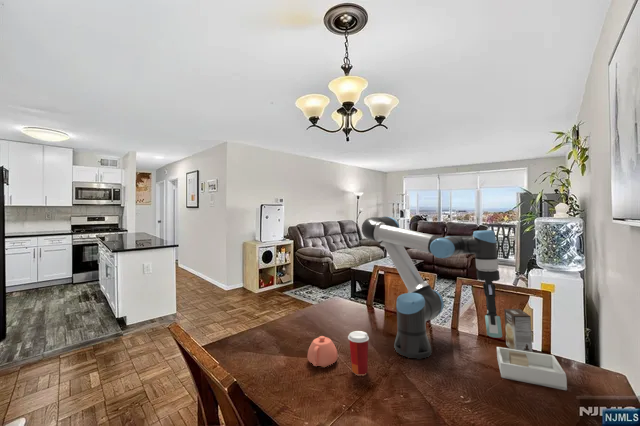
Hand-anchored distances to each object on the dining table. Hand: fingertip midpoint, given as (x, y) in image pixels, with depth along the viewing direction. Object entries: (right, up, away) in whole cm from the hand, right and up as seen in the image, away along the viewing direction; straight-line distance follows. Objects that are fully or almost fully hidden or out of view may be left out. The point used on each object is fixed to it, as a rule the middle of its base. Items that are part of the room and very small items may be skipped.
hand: (493, 330), depth 105 cm
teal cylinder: (0, -2, 0) cm, 2 cm away
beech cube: (+5, -11, -7) cm, 14 cm away
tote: (+7, -12, -8) cm, 16 cm away
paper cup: (-52, -14, -4) cm, 54 cm away
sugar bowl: (-67, -15, +4) cm, 68 cm away
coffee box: (+16, -12, +9) cm, 22 cm away
